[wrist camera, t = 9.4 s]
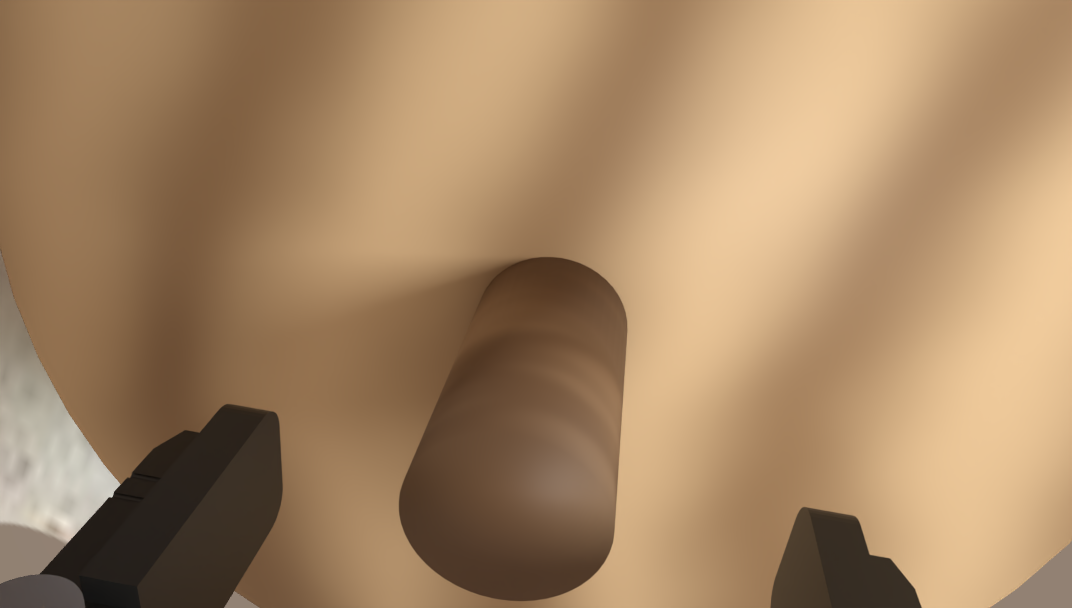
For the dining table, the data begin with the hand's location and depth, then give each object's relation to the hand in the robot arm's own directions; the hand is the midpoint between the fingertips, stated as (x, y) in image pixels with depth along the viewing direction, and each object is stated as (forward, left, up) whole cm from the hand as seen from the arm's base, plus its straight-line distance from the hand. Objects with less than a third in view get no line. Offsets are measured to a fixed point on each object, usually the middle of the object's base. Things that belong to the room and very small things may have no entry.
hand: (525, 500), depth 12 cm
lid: (0, 0, -7) cm, 7 cm away
